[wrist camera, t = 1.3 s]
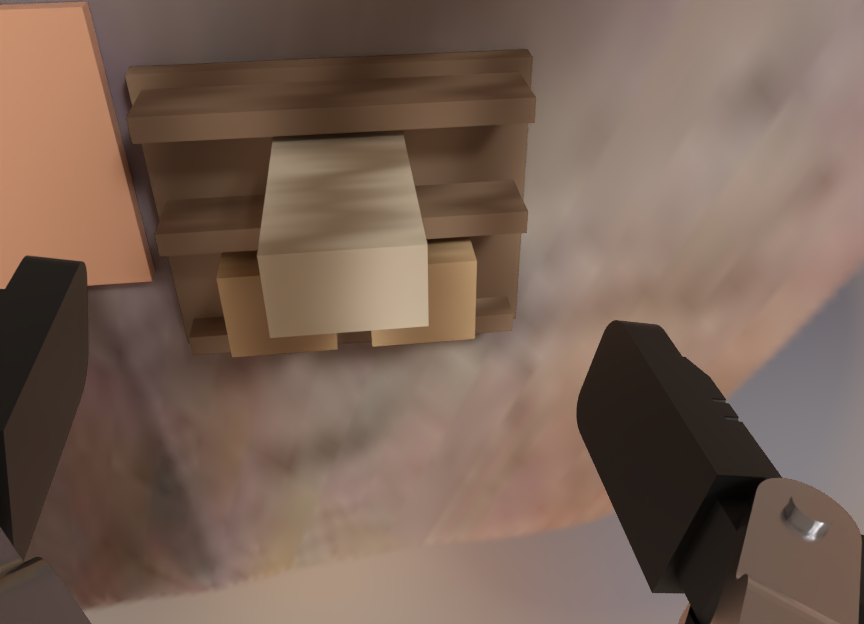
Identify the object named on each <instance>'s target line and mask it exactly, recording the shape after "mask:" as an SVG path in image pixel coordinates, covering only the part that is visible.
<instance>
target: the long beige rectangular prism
mask: <svg viewBox="0 0 864 624" xmlns="http://www.w3.org/2000/svg"><path fill="white" fill-rule="evenodd" d="M257 259H258V265H259V271H260V277H261V284H262V290H263V296H264V302H265V309H266V315H267V321H268V327H269V334H270V338H278V337H291V336H304V335H318V334H331V333H344V332H358V331H371V330H384V329H398V328H411V327H425V326H429V316H428V246H427V240H426V236H425V231H424V226H423V222H422V217H421V213H420V208H419V204H418V199H417V194H416V190H415V185H414V181H413V176H412V172H411V167H410V162H409V158H408V153H407V149H406V144H405V140H404V135H403V130H389V131H370V132H351V133H332V134H313V135H294V136H275V137H273V141H272V148H271V156H270V163H269V170H268V178H267V185H266V193H265V200H264V208H263V215H262V223H261V230H260V237H259V245H258V252H257Z"/></svg>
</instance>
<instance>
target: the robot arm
mask: <svg viewBox="0 0 864 624" xmlns="http://www.w3.org/2000/svg"><path fill="white" fill-rule="evenodd" d="M87 367H88V289H87V269H86V265H85V263H84V262H83V261H75V260H65V259H56V258H47V257H38V256H29V255H27V256H25V257H24V258H23V259H22V261H21V262H20V264H19V266H18V268H17V269H16V271H15V273H14V274H13V276H12V278H11V279H10V281H9V283H8V285H7V286H6V288H5V289H0V624H91V623H90V621H89V620H88V618H87V617H86V615H85V614H84V612H83V611H82V609H81V608H80V606H79V605H78V603H77V602H76V601H75V599H74V598H73V596H72V595H71V593H70V592H69V590H68V589H67V587H66V586H65V584H64V583H63V581H62V580H61V579H60V577H59V576H58V574H57V573H56V572H55V570H54V569H53V568H52V566H51V565H50V564H49V563H48V562H47V561H46V560H44V559H43V558H41V557H35V558H33V559H31V560H29V561H27V562H24V559H25V556H26V553H27V550H28V547H29V544H30V542H31V539H32V536H33V533H34V530H35V527H36V524H37V522H38V519H39V516H40V513H41V510H42V507H43V505H44V502H45V499H46V496H47V493H48V490H49V488H50V485H51V482H52V479H53V476H54V473H55V471H56V468H57V465H58V462H59V459H60V456H61V454H62V451H63V448H64V445H65V442H66V439H67V436H68V434H69V431H70V428H71V425H72V422H73V419H74V417H75V414H76V411H77V408H78V405H79V402H80V400H81V397H82V394H83V390H84V386H85V381H86V375H87ZM725 400H726V399H725V397H724V396H723V395H722V393H721V392H720V390H719V389H718V388H717V386H716V385H715V383H714V382H713V381H712V379H711V378H710V377H709V376H708V375H707V374H705V373H704V372H703V371H702V370H701V369H699V368H698V367H697V366H696V365H694V364H693V363H692V362H691V361H689V360H688V359H687V358H686V357H682V355H681V354H680V352H679V351H678V350H677V348H676V347H675V345H674V344H673V342H672V341H671V340H670V338H669V337H668V335H667V334H666V332H665V331H664V330H663V328H662V327H660V326H659V325H656V324H647V323H637V322H628V321H619V320H615V321H612V322H611V323H610V324H609V325H608V326H607V327H606V329H605V331H604V333H603V336H602V338H601V341H600V343H599V346H598V348H597V351H596V353H595V356H594V358H593V361H592V363H591V366H590V368H589V371H588V373H587V376H586V378H585V381H584V383H583V386H582V388H581V391H580V394H579V397H578V402H577V424H578V428H579V431H580V434H581V436H582V438H583V441H584V443H585V445H586V447H587V449H588V452H589V454H590V456H591V458H592V460H593V463H594V465H595V467H596V469H597V472H598V474H599V476H600V478H601V480H602V483H603V485H604V487H605V489H606V492H607V494H608V496H609V498H610V500H611V503H612V505H613V507H614V509H615V512H616V514H617V516H618V518H619V520H620V523H621V525H622V527H623V529H624V531H625V534H626V536H627V538H628V540H629V543H630V545H631V547H632V549H633V551H634V554H635V556H636V558H637V560H638V563H639V565H640V567H641V569H642V571H643V574H644V576H645V578H646V580H647V582H648V585H649V587H650V589H651V591H652V593H685V595H686V597H687V599H688V601H689V603H688V605H687V607H686V609H685V610H684V612H683V613H682V615H681V617H680V620H679V623H678V624H864V535H861V533H860V531H859V528H858V526H857V524H856V523H855V521H854V520H853V518H852V517H851V516H850V515H849V514H848V512H847V511H846V510H845V509H844V508H843V507H842V506H840V505H839V504H838V503H837V502H836V501H834V500H833V499H832V498H831V497H829V496H828V495H826V494H825V493H823V492H821V491H820V490H818V489H816V488H814V487H812V486H809V485H807V484H805V483H802V482H799V481H796V480H792V479H787V478H782V477H781V476H780V474H779V473H778V471H777V470H776V468H775V467H774V466H773V464H772V463H771V462H770V460H769V459H768V457H767V456H766V455H765V453H764V452H763V450H762V449H761V448H760V446H759V445H758V443H757V442H756V441H755V439H754V438H753V436H752V435H751V434H750V432H749V431H748V429H747V428H746V427H745V425H744V424H743V422H739V421H738V416H737V414H736V413H735V411H734V410H733V409H732V407H731V406H730V404H728V403H725Z"/></svg>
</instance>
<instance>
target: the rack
mask: <svg viewBox="0 0 864 624" xmlns="http://www.w3.org/2000/svg"><path fill="white" fill-rule="evenodd" d="M532 58H533V57H532V55H531V54H530V52H529V51H528V50H527V49H523V50H500V51H477V52H455V53H432V54H409V55H386V56H364V57H341V58H318V59H295V60H272V61H250V62H227V63H204V64H181V65H158V66H136V67H130V68H129V69H128V71H127V72H126V74H125V77H126V82H127V86H128V90H129V94H130V99H131V103H132V108H131V109H130V111H129V113H128V115H127V117H126V120H127V124H128V128H129V133H130V137H131V141H132V144H141V145H142V149H143V154H144V158H145V162H146V166H147V170H148V175H149V179H150V183H151V187H152V192H153V196H154V200H155V204H156V209H157V213H158V217H159V223H158V226H157V229H156V232H155V234H154V235H155V239H156V243H157V248H158V252H159V256H160V257H161V256H168V259H169V263H170V268H171V272H172V276H173V280H174V285H175V289H176V293H177V297H178V302H179V306H180V310H181V314H182V318H183V323H184V327H185V331H186V335H187V340H188V343H191V348H192V352H193V355H201V354H214V353H227V352H231V349H230V344H229V339H228V334H227V329H226V324H225V319H224V314H223V309H222V304H221V299H220V294H219V289H218V284H217V279H216V278H217V273H218V269H219V264H220V259H221V254H222V252H238V251H253V250H258V245H259V237H260V230H261V223H262V215H263V208H264V200H265V193H266V185H267V178H268V170H269V163H270V156H271V148H272V141H273V137H275V136H294V135H313V134H332V133H351V132H370V131H389V130H403V135H404V140H405V144H406V149H407V153H408V158H409V162H410V167H411V172H412V176H413V181H414V185H415V190H416V194H417V199H418V204H419V208H420V213H421V217H422V222H423V226H424V231H425V236H426V239H438V238H453V237H470V240H471V243H472V247H473V250H474V253H475V256H476V259H477V279H476V314H475V334H477V333H490V332H503V331H512V325H513V319H516V306H517V291H518V275H519V260H520V244H521V233H527V220H528V210H527V208H526V206H525V204H524V201H523V197H524V182H525V166H526V151H527V135H528V123H534V118H535V104H536V97H535V95H534V94H533V92H532V91H531V73H532ZM337 339H338V344H346V343H359V342H372V336H371V331H358V332H344V333H337Z"/></svg>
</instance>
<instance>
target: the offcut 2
mask: <svg viewBox="0 0 864 624" xmlns="http://www.w3.org/2000/svg"><path fill="white" fill-rule="evenodd" d="M426 240H427V246H428V316H429V326H425V327H411V328H398V329H384V330H371V336H372V347H375V346H388V345H401V344H414V343H427V342H440V341H454V340H467V339H475V314H476V279H477V259H476V256H475V253H474V250H473V247H472V243H471V240H470V237H453V238H438V239H426Z"/></svg>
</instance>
